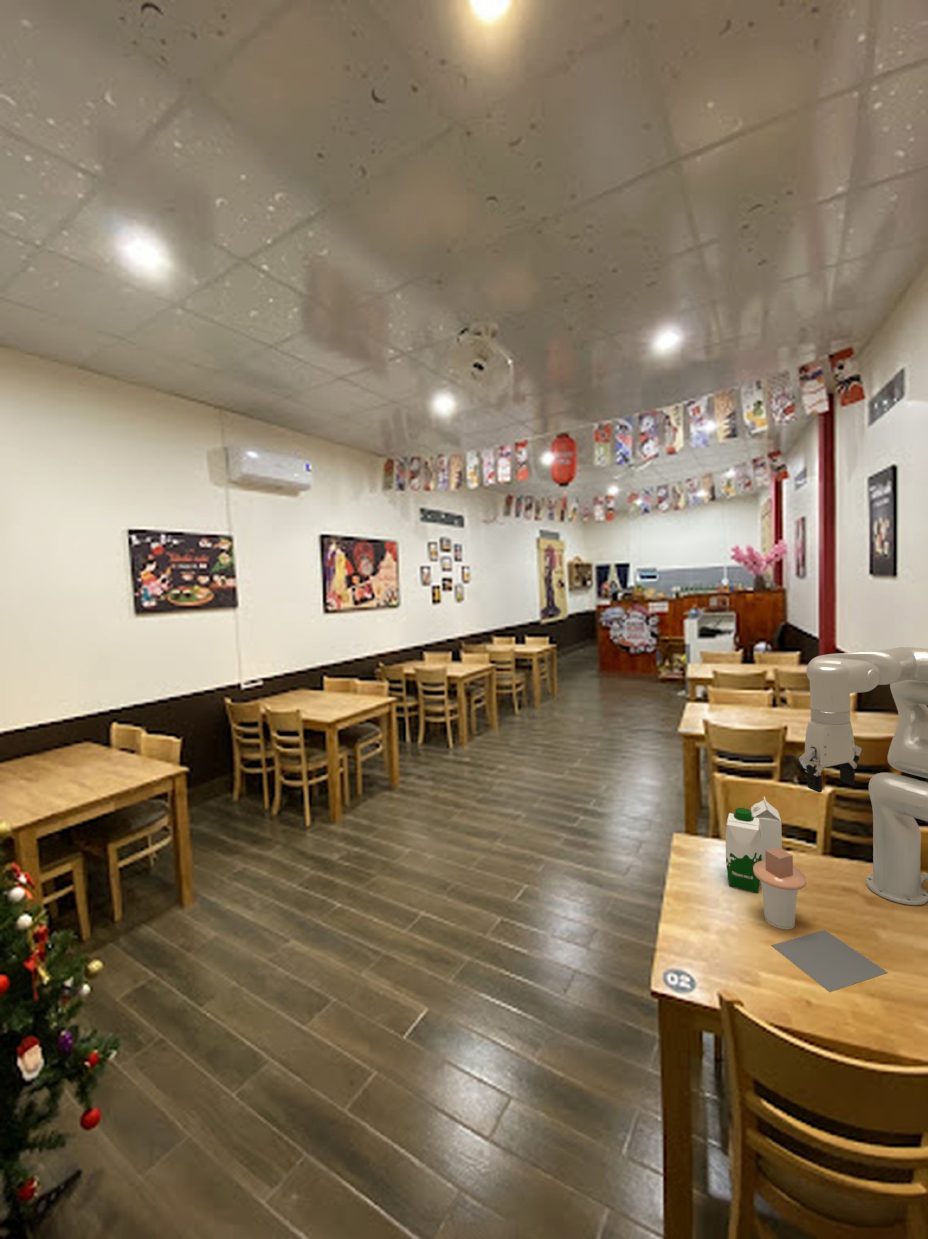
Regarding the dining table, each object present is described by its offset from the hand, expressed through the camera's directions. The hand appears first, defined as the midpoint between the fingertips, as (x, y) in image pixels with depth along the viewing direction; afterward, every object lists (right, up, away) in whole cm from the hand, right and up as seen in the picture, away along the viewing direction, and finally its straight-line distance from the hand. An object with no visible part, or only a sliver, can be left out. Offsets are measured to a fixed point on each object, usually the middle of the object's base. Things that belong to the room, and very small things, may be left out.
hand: (831, 786), depth 119 cm
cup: (-9, -36, +5) cm, 37 cm away
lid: (-10, -23, +4) cm, 26 cm away
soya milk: (-9, -35, +21) cm, 42 cm away
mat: (-7, -36, -8) cm, 38 cm away
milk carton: (+3, -33, +31) cm, 45 cm away
